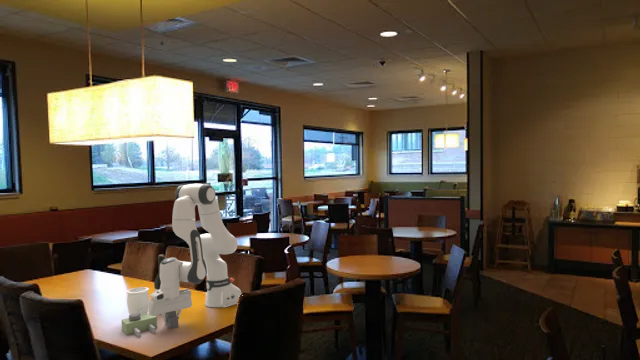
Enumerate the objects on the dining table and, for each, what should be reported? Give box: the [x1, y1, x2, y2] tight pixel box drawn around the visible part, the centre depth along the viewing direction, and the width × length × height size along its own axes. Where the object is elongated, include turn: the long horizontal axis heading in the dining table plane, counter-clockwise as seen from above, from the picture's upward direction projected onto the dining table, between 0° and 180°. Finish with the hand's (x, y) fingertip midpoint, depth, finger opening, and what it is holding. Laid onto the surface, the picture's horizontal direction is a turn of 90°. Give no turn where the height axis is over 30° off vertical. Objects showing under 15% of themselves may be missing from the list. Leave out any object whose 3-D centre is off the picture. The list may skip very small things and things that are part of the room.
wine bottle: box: [153, 254, 166, 292], centre depth 240 cm, size 8×8×30 cm
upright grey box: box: [164, 311, 179, 330], centre depth 216 cm, size 4×7×7 cm, turn 38°
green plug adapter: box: [121, 313, 158, 338], centre depth 211 cm, size 14×15×7 cm
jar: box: [126, 286, 150, 315], centre depth 228 cm, size 11×10×15 cm
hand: (171, 320), depth 216 cm, fingers closed on upright grey box, 4 cm apart
